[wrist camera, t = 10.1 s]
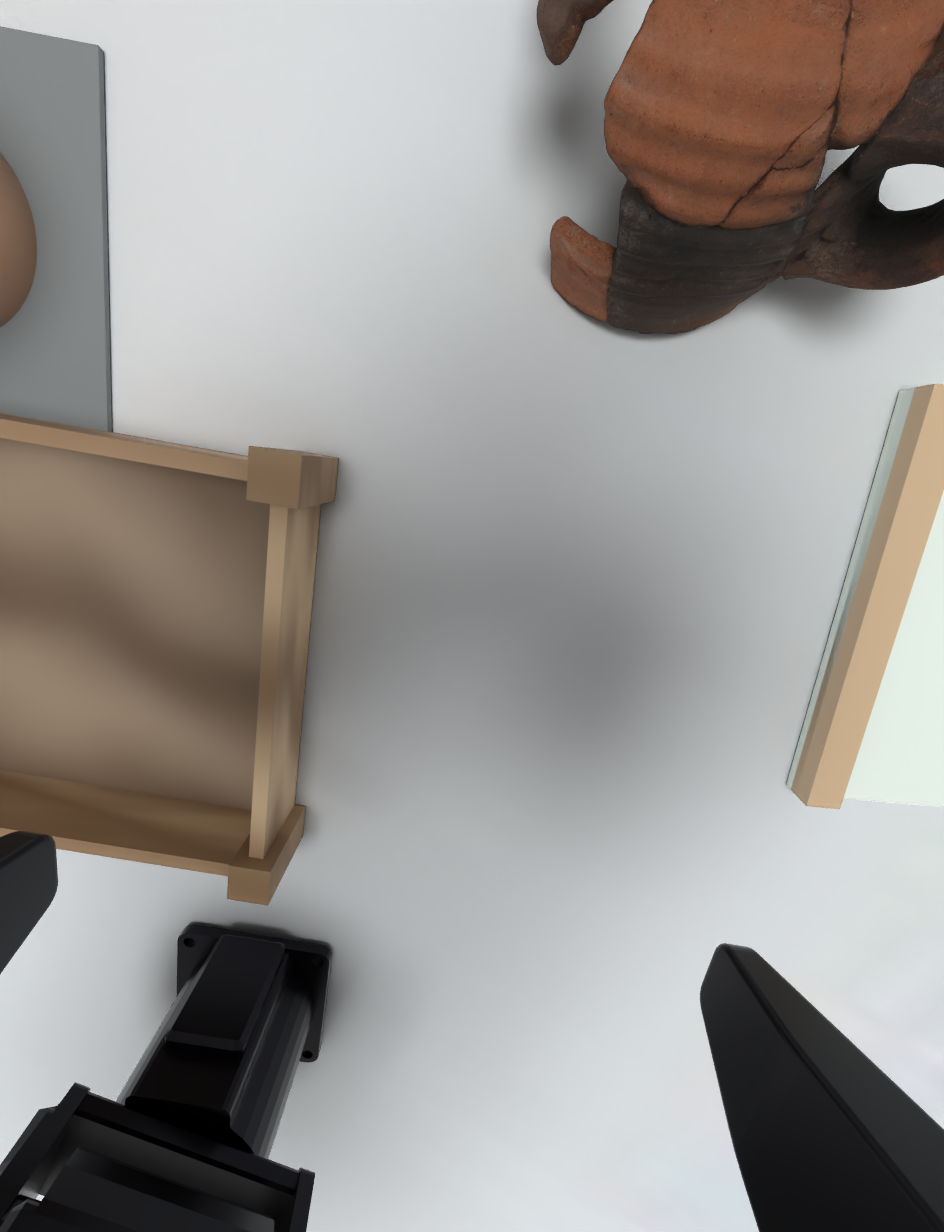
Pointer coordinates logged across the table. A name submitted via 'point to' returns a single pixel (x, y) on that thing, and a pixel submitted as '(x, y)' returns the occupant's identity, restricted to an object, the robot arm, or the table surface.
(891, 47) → the brown creature figurine
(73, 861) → the table surface
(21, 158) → the slate mat
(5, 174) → the terracotta pot
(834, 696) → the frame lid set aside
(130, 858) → the brown wooden tray
